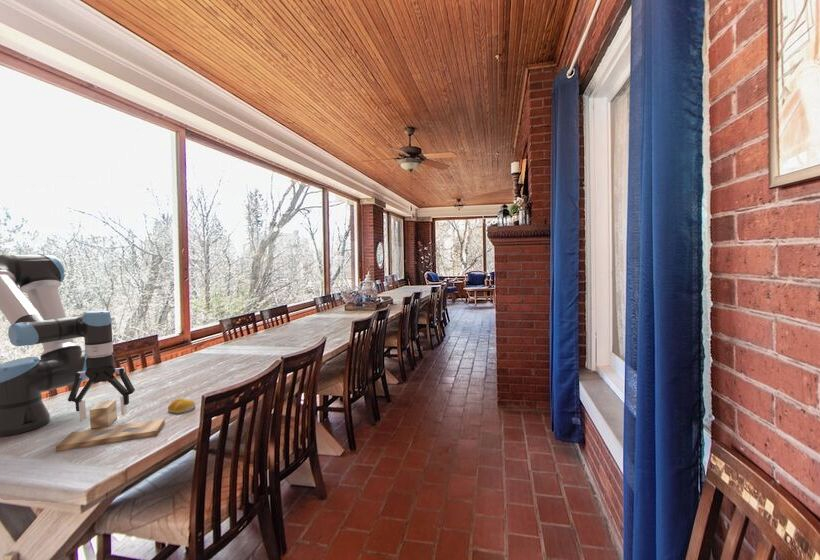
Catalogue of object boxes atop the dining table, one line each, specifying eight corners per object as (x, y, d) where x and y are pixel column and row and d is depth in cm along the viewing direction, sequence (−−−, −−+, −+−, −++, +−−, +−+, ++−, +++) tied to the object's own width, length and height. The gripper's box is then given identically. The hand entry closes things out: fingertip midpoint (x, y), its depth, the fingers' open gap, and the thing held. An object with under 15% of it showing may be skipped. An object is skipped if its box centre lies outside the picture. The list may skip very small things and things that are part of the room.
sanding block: (90, 430, 129) (89, 410, 128) (100, 421, 136) (99, 401, 136) (108, 427, 130) (107, 407, 130) (117, 418, 138) (115, 399, 138)
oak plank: (56, 451, 114) (55, 445, 114) (72, 436, 124) (71, 432, 124) (157, 435, 123) (156, 430, 123) (164, 422, 133) (164, 418, 133)
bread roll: (181, 415, 140) (180, 404, 140) (164, 412, 143) (163, 402, 143) (200, 407, 148) (200, 397, 147) (184, 404, 151) (183, 394, 150)
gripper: (51, 361, 124) (56, 427, 125) (136, 353, 133) (140, 415, 134) (62, 356, 131) (67, 418, 132) (142, 349, 140) (146, 407, 141)
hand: (103, 416), depth 133 cm, fingers open, 11 cm apart
